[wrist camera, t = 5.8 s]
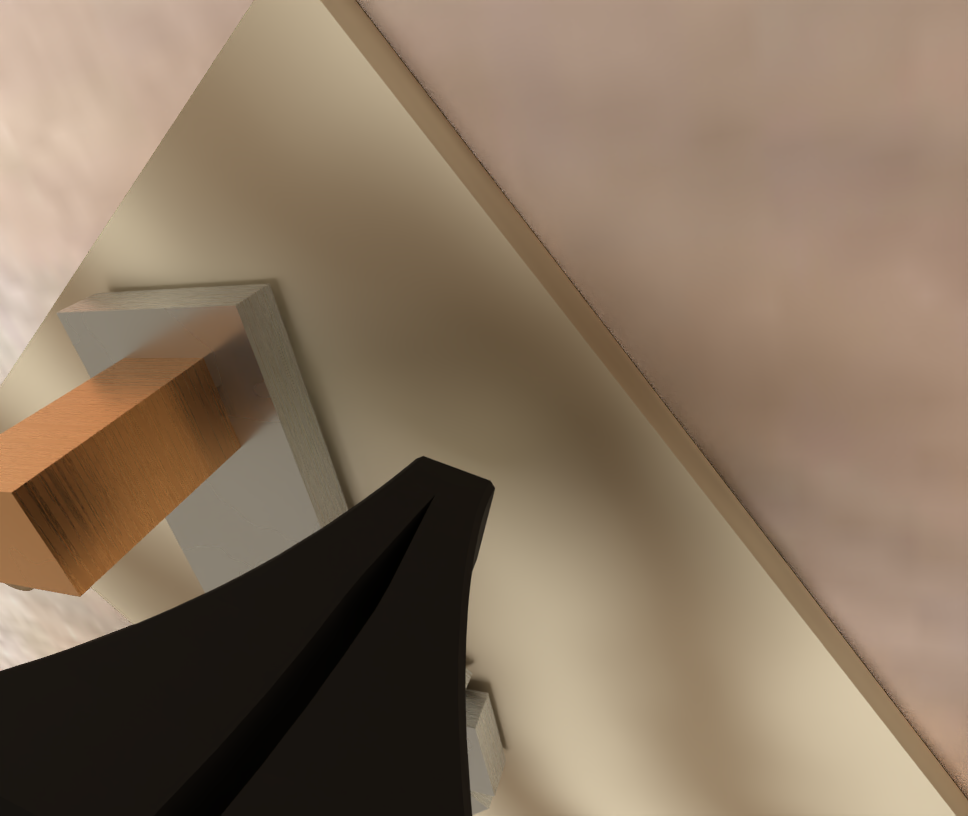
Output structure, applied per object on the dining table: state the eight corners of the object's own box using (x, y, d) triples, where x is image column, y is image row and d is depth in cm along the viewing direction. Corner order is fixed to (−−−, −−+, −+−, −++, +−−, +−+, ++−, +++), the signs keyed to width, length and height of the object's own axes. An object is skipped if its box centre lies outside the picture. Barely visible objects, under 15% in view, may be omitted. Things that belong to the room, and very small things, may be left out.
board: (448, 866, 26) (439, 894, 25) (-20, 444, 21) (-50, 463, 20) (999, 841, 15) (1013, 888, 15) (320, -45, 10) (283, -46, 9)
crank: (521, 821, 20) (463, 1034, 16) (274, 755, 23) (174, 919, 19) (379, 278, 11) (177, 443, 7) (21, 297, 14) (-252, 419, 11)
